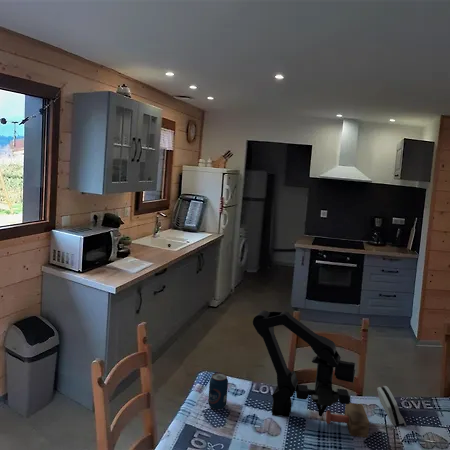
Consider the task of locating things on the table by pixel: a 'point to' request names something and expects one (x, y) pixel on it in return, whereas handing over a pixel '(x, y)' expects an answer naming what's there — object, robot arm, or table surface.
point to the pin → (336, 418)
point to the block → (357, 420)
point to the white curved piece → (390, 405)
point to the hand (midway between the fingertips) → (320, 415)
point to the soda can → (218, 391)
